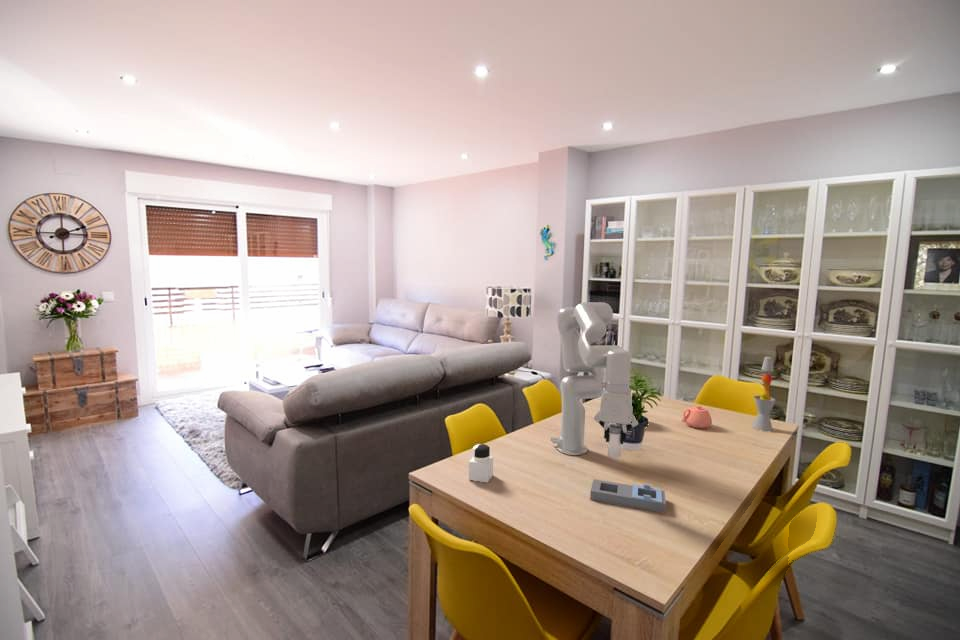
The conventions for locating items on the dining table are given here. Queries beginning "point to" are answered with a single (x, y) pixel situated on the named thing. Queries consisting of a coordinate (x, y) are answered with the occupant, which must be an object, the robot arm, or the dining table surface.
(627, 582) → the dining table surface
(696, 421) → the pink rounded piece
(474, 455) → the medicine bottle
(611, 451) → the plug
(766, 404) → the lava lamp
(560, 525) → the dining table surface
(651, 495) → the grey slotted holder
